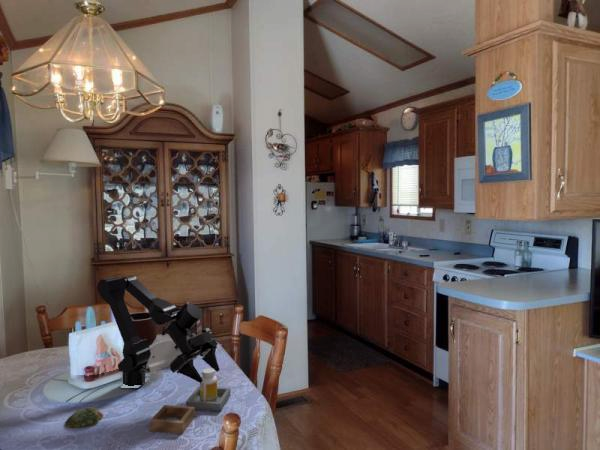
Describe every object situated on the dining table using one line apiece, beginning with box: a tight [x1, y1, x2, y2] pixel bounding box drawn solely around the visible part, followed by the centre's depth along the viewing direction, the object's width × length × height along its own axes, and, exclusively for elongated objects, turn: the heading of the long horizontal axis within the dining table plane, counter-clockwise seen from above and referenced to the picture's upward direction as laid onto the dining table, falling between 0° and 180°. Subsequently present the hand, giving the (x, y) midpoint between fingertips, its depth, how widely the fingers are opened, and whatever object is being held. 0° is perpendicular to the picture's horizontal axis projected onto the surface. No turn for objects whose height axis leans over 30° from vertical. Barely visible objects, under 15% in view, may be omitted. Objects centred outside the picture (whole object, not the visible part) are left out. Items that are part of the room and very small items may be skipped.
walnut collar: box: [149, 404, 196, 435], centre depth 122 cm, size 9×9×3 cm
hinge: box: [144, 339, 182, 373], centre depth 168 cm, size 17×5×10 cm, turn 140°
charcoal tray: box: [185, 385, 231, 413], centre depth 136 cm, size 11×11×2 cm
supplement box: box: [188, 316, 203, 359], centre depth 178 cm, size 9×5×16 cm, turn 179°
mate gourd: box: [129, 311, 159, 346], centre depth 173 cm, size 16×14×20 cm
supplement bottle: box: [199, 367, 218, 402], centre depth 135 cm, size 5×5×10 cm
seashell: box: [65, 406, 105, 430], centre depth 124 cm, size 10×4×10 cm
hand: (210, 376), depth 135 cm, fingers open, 9 cm apart
